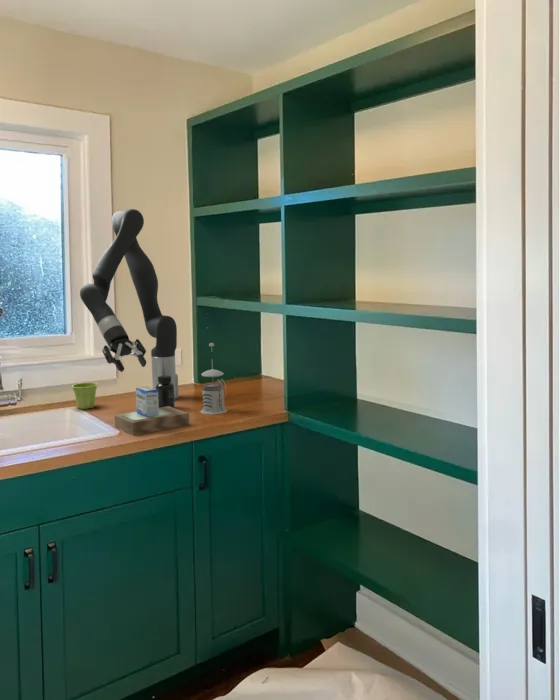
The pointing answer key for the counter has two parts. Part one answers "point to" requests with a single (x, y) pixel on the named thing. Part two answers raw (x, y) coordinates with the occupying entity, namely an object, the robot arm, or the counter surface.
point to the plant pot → (85, 394)
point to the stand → (151, 421)
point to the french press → (213, 393)
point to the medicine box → (147, 401)
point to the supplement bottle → (165, 392)
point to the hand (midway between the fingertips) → (133, 367)
